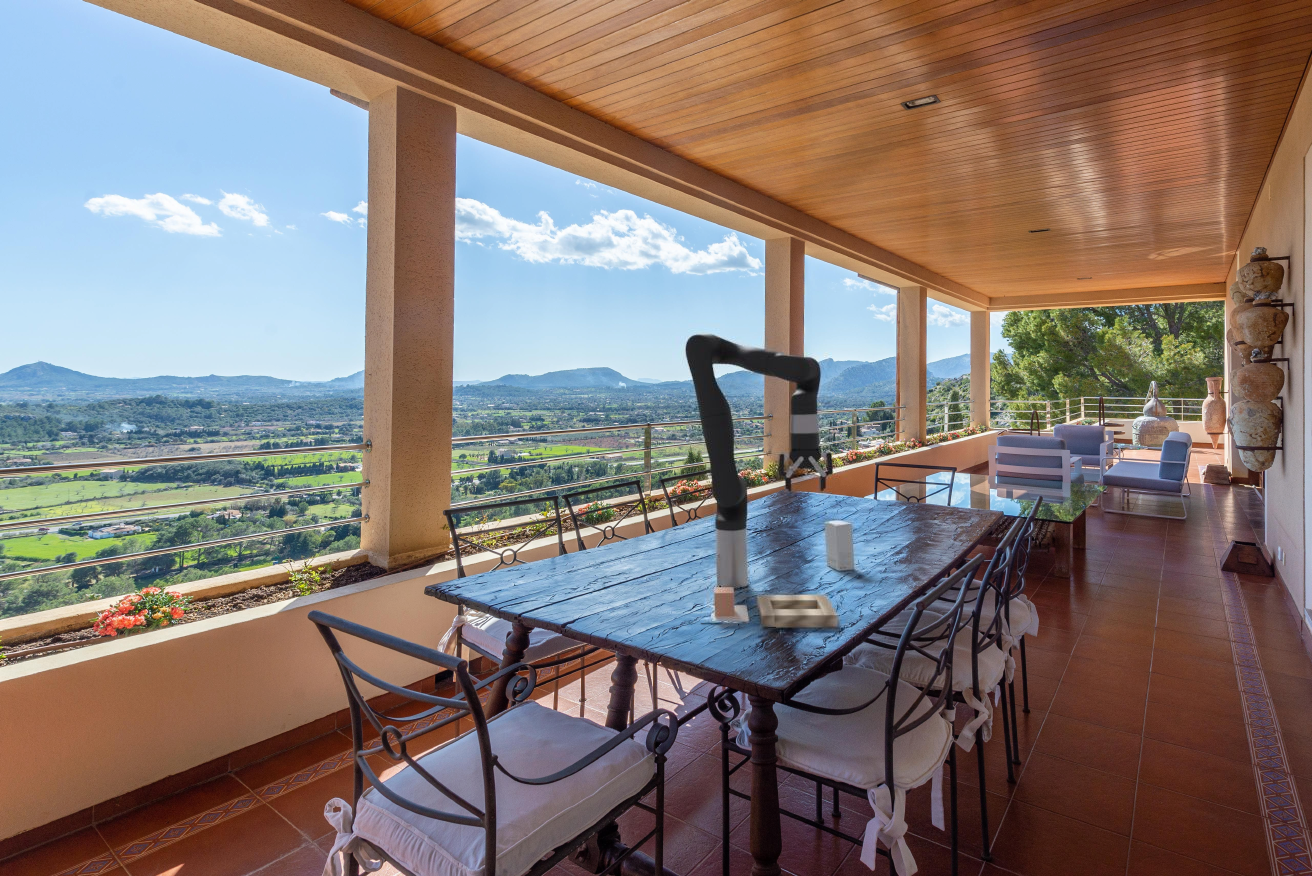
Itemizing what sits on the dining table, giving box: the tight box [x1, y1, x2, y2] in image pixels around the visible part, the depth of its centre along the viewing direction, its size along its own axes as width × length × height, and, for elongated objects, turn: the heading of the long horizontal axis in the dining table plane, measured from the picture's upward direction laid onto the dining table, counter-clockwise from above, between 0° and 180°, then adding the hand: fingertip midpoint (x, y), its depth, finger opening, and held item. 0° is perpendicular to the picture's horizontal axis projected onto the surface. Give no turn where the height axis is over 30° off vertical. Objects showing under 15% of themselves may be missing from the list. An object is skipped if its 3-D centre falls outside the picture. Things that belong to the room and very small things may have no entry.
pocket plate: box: [756, 594, 839, 628], centre depth 163 cm, size 18×16×3 cm
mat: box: [709, 604, 750, 624], centre depth 166 cm, size 12×12×1 cm
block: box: [713, 586, 735, 616], centre depth 166 cm, size 5×5×6 cm
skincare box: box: [824, 519, 855, 572], centre depth 207 cm, size 8×6×15 cm
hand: (805, 490), depth 174 cm, fingers open, 8 cm apart
